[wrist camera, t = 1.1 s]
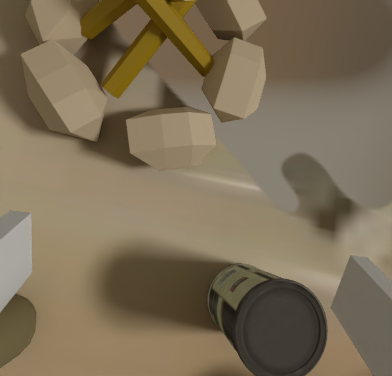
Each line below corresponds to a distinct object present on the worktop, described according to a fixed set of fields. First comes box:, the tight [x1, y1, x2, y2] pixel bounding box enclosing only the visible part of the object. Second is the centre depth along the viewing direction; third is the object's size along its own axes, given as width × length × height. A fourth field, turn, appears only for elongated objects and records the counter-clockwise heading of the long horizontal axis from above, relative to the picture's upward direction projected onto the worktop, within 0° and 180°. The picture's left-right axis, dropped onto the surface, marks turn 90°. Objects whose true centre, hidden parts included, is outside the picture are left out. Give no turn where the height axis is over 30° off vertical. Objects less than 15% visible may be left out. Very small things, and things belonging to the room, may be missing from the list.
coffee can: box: [207, 264, 328, 376], centre depth 39 cm, size 10×10×14 cm
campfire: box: [20, 0, 266, 171], centre depth 40 cm, size 35×34×17 cm
